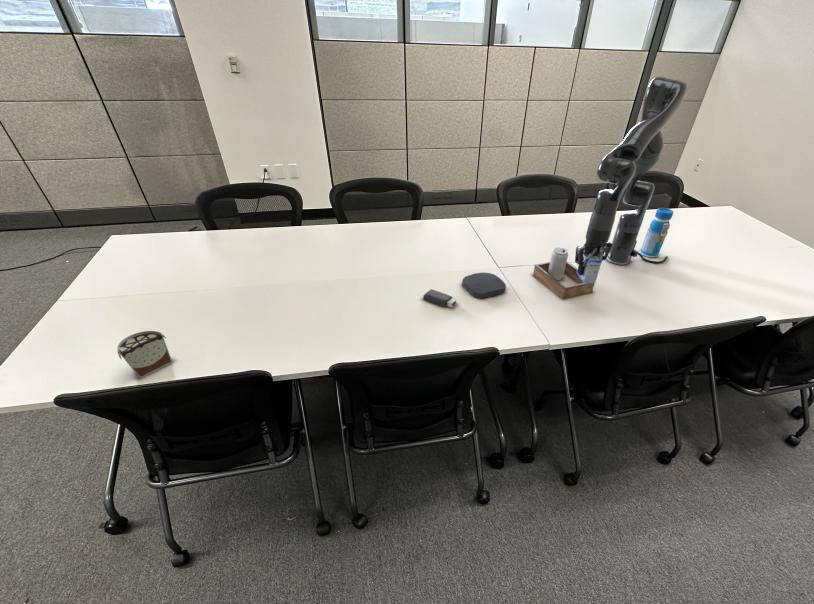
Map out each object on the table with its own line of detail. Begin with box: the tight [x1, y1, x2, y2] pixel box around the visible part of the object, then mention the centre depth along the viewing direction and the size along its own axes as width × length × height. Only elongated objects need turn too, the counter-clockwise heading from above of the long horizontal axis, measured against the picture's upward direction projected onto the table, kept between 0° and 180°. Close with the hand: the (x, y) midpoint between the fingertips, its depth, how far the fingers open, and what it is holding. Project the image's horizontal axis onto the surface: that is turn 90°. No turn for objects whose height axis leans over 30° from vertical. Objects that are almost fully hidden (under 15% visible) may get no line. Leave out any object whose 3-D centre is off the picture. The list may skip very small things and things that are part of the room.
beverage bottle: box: [639, 207, 674, 258], centre depth 187 cm, size 8×8×20 cm
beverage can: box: [548, 247, 569, 281], centre depth 169 cm, size 6×6×12 cm
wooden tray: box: [532, 261, 596, 300], centre depth 168 cm, size 15×21×5 cm
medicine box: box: [577, 254, 603, 284], centre depth 144 cm, size 8×4×9 cm, turn 6°
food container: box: [116, 330, 173, 379], centre depth 119 cm, size 12×6×10 cm, turn 145°
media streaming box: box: [461, 272, 507, 299], centre depth 163 cm, size 15×15×3 cm
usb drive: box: [422, 289, 457, 308], centre depth 155 cm, size 5×12×3 cm, turn 58°
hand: (587, 272), depth 146 cm, fingers closed on medicine box, 5 cm apart
